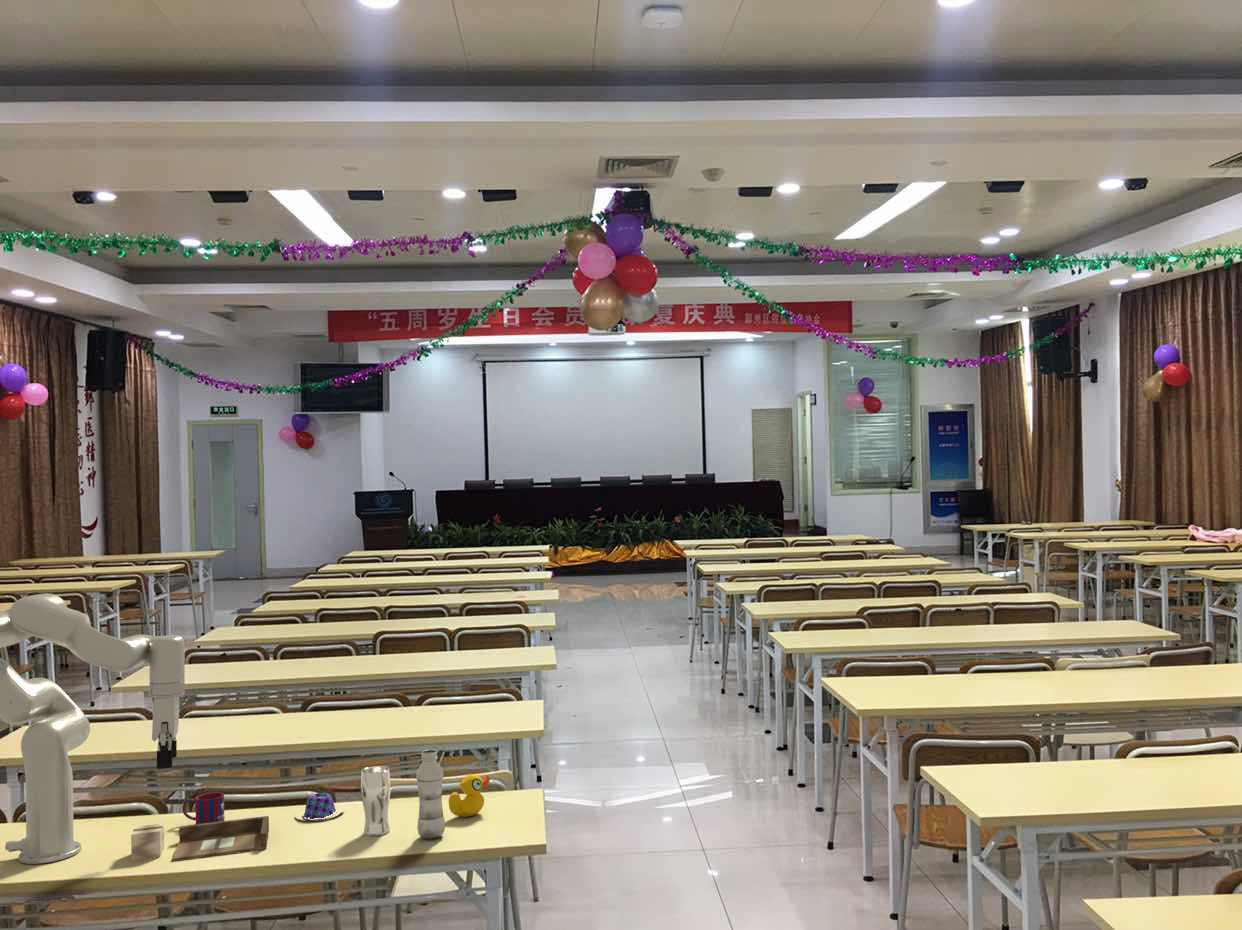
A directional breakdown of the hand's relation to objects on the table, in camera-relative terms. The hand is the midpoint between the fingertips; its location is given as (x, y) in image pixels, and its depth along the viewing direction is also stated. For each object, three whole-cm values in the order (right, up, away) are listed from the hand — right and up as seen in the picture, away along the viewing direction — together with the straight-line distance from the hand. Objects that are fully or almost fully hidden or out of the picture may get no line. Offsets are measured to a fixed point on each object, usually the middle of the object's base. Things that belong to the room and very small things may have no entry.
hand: (166, 762), depth 232 cm
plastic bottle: (+62, -18, +2) cm, 64 cm away
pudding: (+29, -21, +22) cm, 42 cm away
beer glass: (+47, -19, +7) cm, 52 cm away
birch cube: (-3, -20, -4) cm, 21 cm away
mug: (+1, -21, +18) cm, 28 cm away
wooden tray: (+13, -20, +1) cm, 23 cm away
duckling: (+68, -19, +18) cm, 73 cm away
